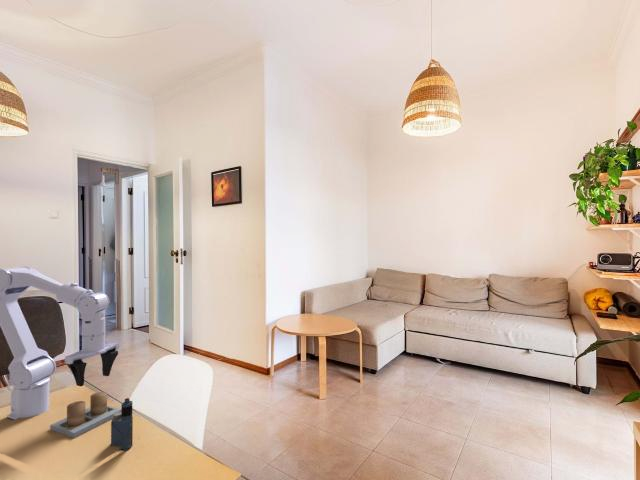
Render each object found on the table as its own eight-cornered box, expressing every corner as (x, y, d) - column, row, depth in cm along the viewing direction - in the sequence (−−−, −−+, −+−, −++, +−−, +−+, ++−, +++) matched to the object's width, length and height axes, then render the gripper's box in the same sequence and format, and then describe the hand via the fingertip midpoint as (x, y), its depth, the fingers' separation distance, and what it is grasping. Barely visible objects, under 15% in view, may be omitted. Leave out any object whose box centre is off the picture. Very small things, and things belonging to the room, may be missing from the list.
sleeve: (62, 429, 88) (62, 406, 88) (79, 421, 92) (79, 399, 92) (72, 432, 87) (72, 409, 87) (89, 424, 90) (89, 402, 91)
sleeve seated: (86, 417, 94) (86, 396, 94) (101, 410, 98) (101, 390, 98) (96, 421, 92) (96, 399, 92) (111, 413, 96) (111, 392, 96)
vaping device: (127, 451, 80) (127, 402, 80) (108, 449, 81) (108, 400, 81) (135, 445, 83) (135, 397, 83) (117, 443, 84) (117, 395, 84)
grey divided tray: (50, 433, 88) (50, 424, 88) (98, 410, 100) (99, 403, 100) (74, 441, 84) (74, 432, 84) (121, 417, 96) (121, 409, 96)
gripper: (76, 342, 90) (76, 392, 90) (125, 329, 104) (125, 373, 103) (60, 339, 93) (60, 388, 93) (110, 327, 106) (110, 370, 106)
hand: (93, 380), depth 98 cm, fingers open, 7 cm apart
